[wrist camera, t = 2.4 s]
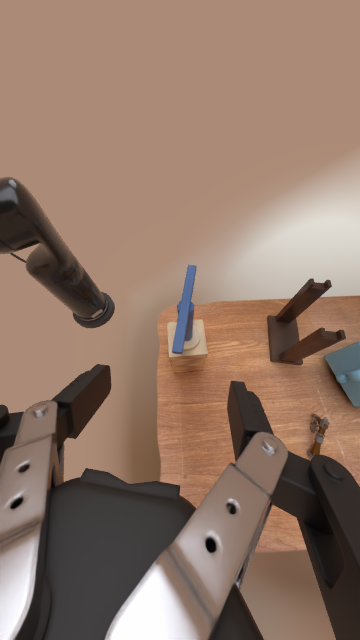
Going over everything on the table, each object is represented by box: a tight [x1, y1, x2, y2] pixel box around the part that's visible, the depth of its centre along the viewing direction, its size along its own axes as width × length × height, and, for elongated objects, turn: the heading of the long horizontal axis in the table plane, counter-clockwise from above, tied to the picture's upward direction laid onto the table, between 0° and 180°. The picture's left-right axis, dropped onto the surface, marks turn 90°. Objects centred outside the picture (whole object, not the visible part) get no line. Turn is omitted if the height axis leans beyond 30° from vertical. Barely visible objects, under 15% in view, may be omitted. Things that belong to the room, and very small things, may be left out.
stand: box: [267, 279, 346, 365], centre depth 40 cm, size 7×12×17 cm, turn 171°
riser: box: [167, 319, 208, 373], centre depth 40 cm, size 7×7×14 cm
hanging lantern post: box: [307, 414, 329, 458], centre depth 37 cm, size 2×8×4 cm, turn 161°
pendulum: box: [172, 265, 200, 354], centre depth 29 cm, size 5×13×12 cm, turn 171°
